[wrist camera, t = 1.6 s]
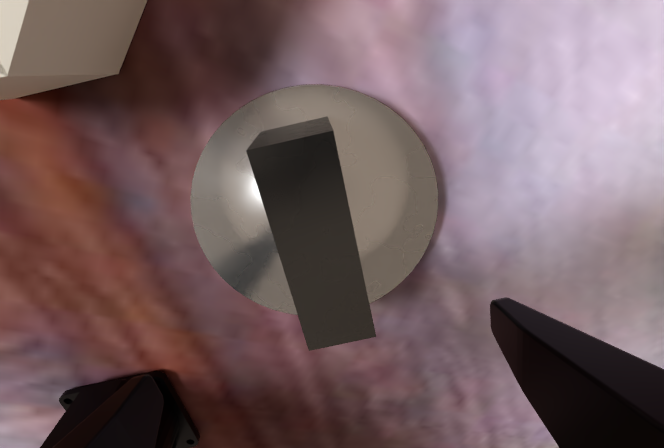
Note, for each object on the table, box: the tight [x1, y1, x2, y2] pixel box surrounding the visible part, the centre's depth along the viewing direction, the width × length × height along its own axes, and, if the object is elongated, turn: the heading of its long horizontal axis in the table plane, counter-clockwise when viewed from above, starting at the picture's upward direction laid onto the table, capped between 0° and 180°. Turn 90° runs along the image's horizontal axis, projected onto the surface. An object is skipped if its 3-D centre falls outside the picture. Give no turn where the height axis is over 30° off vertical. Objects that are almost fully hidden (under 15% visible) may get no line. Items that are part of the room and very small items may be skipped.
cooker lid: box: [191, 84, 438, 351], centre depth 16 cm, size 12×12×5 cm
